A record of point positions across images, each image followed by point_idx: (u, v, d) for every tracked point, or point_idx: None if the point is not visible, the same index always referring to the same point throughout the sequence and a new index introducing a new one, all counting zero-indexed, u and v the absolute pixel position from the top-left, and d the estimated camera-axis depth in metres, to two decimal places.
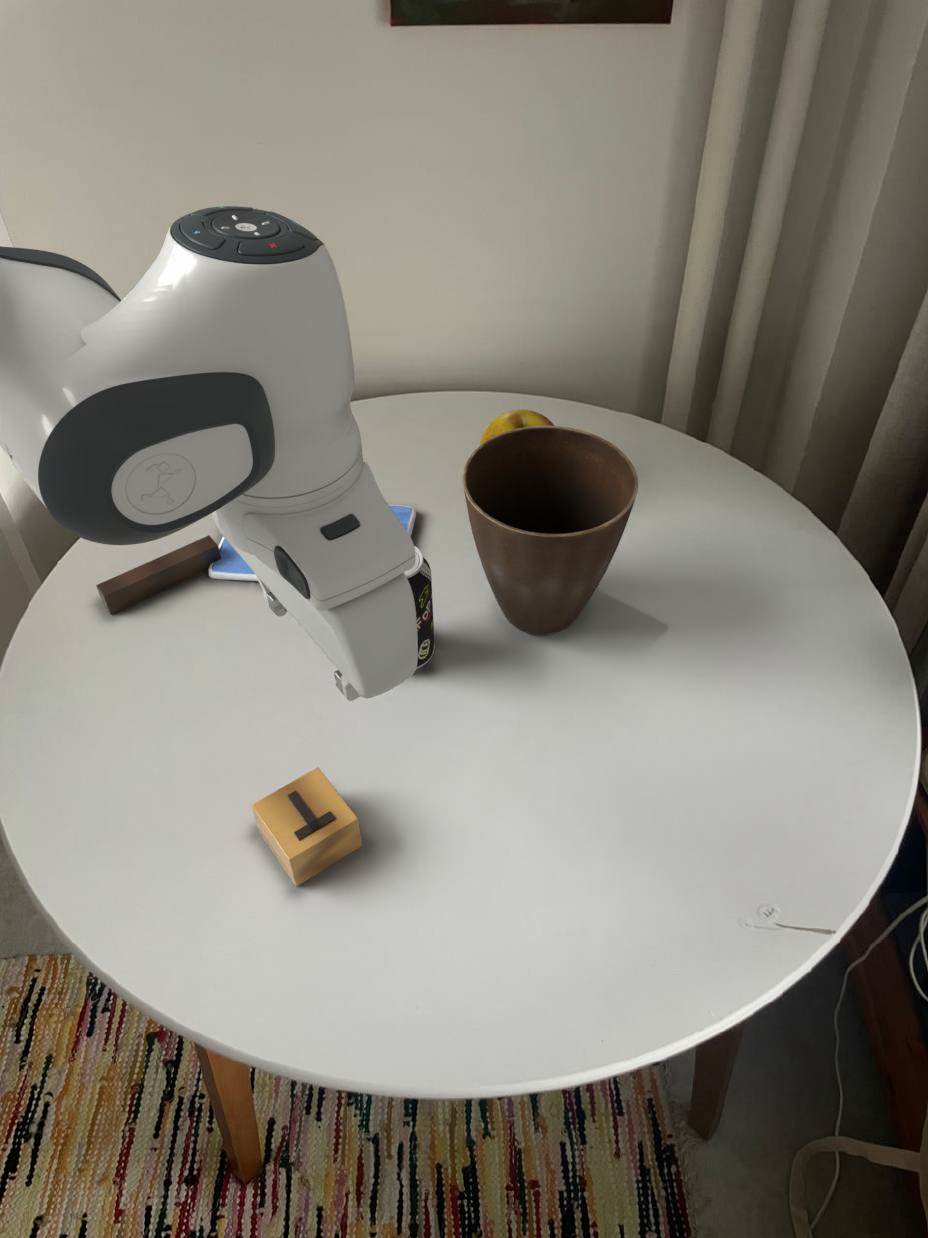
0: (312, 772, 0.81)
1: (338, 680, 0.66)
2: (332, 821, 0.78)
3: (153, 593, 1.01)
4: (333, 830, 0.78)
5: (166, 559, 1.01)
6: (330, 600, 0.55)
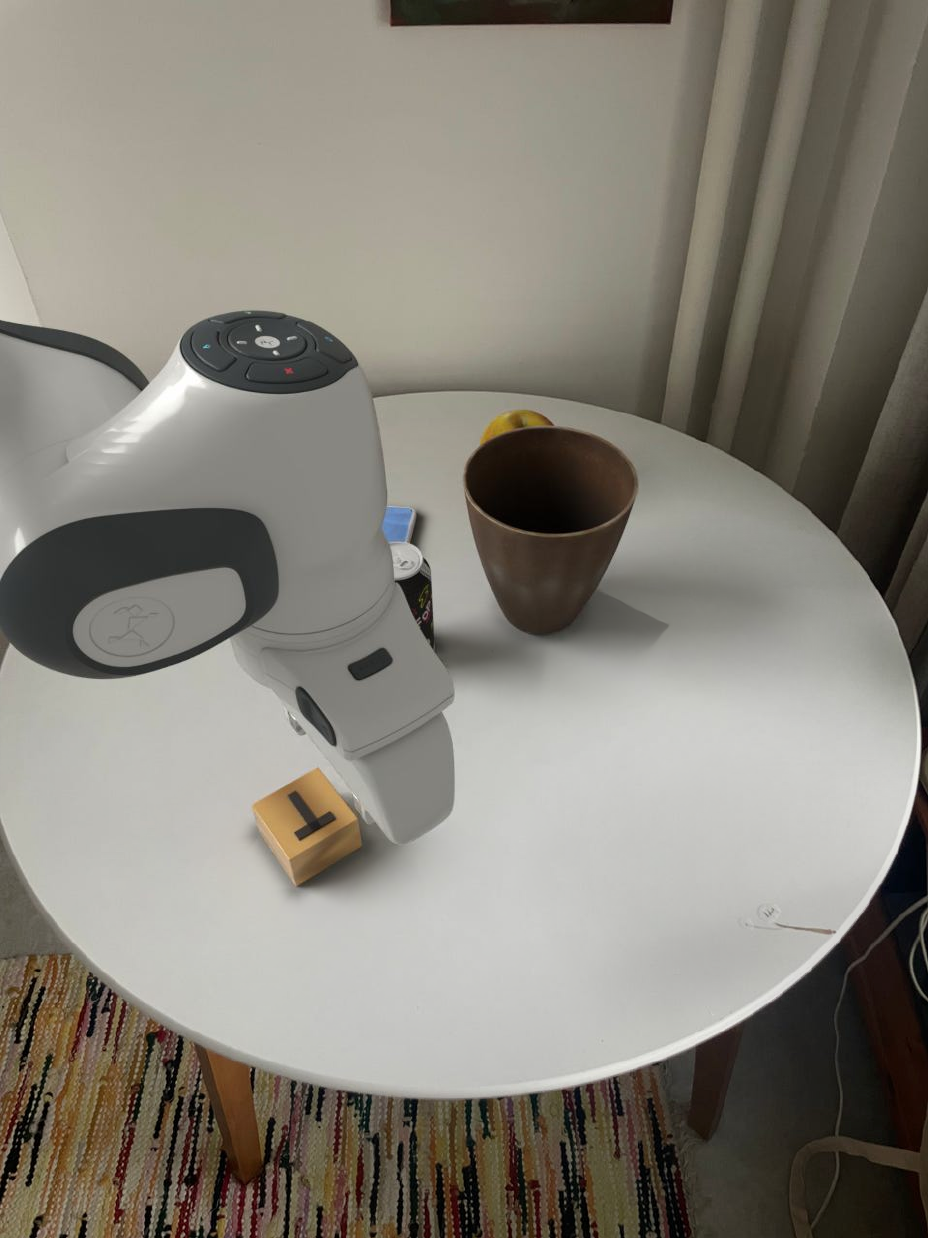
0: (312, 772, 0.81)
1: (357, 802, 0.60)
2: (332, 821, 0.78)
3: None
4: (333, 830, 0.78)
5: None
6: (359, 750, 0.48)
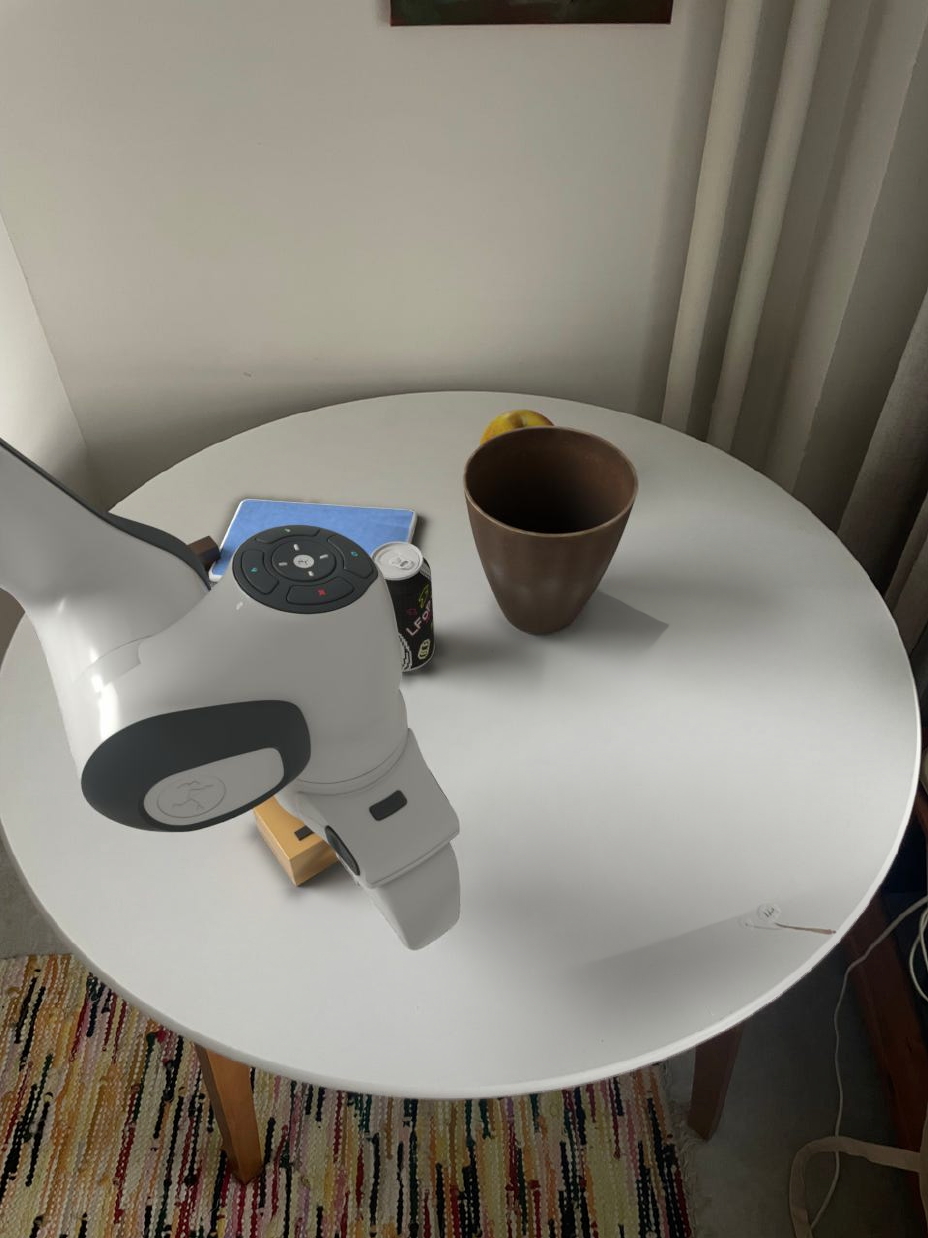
0: None
1: None
2: None
3: None
4: None
5: None
6: (379, 882, 0.57)
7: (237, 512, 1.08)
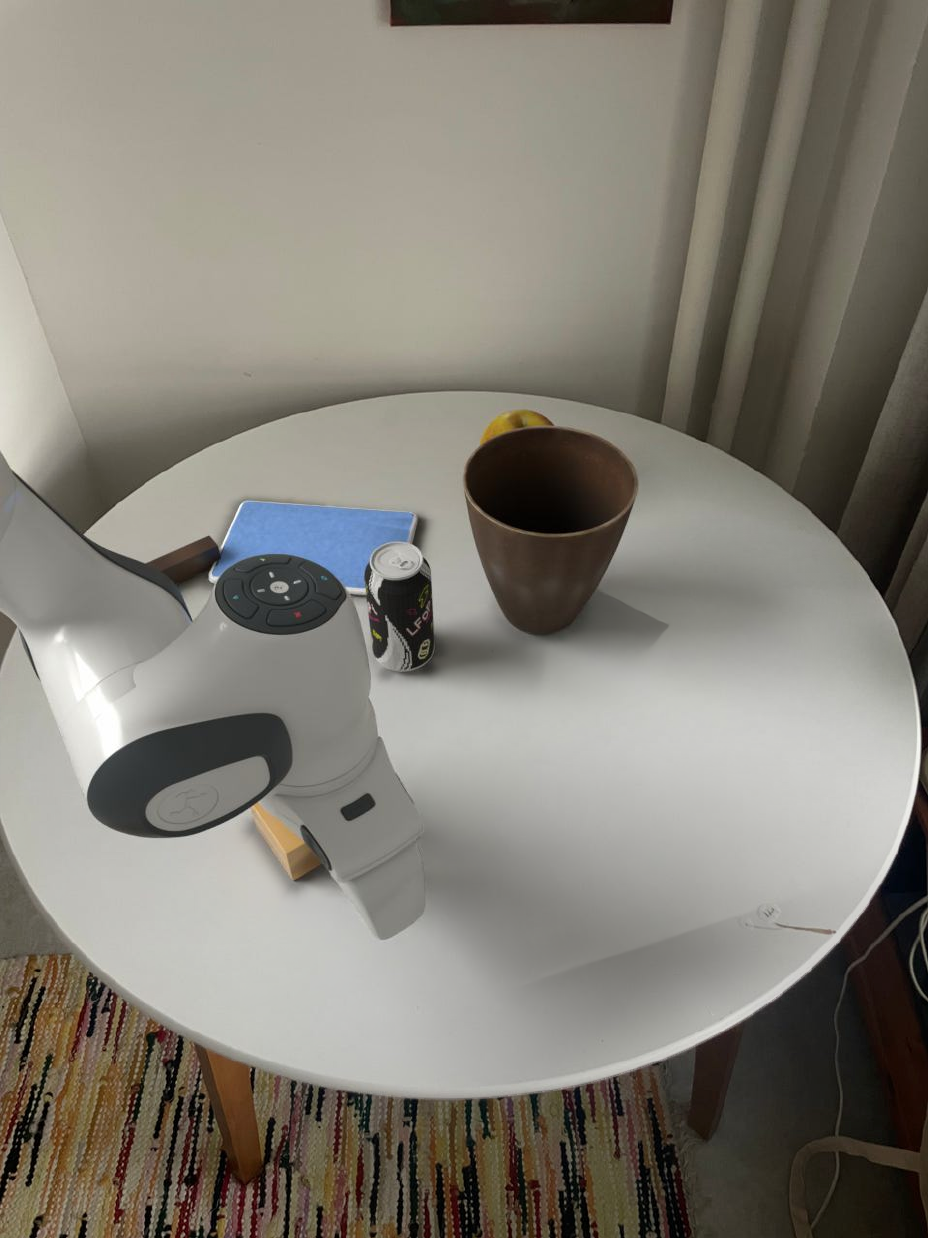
0: None
1: None
2: None
3: None
4: None
5: (166, 559, 1.01)
6: (349, 876, 0.63)
7: (237, 514, 1.08)
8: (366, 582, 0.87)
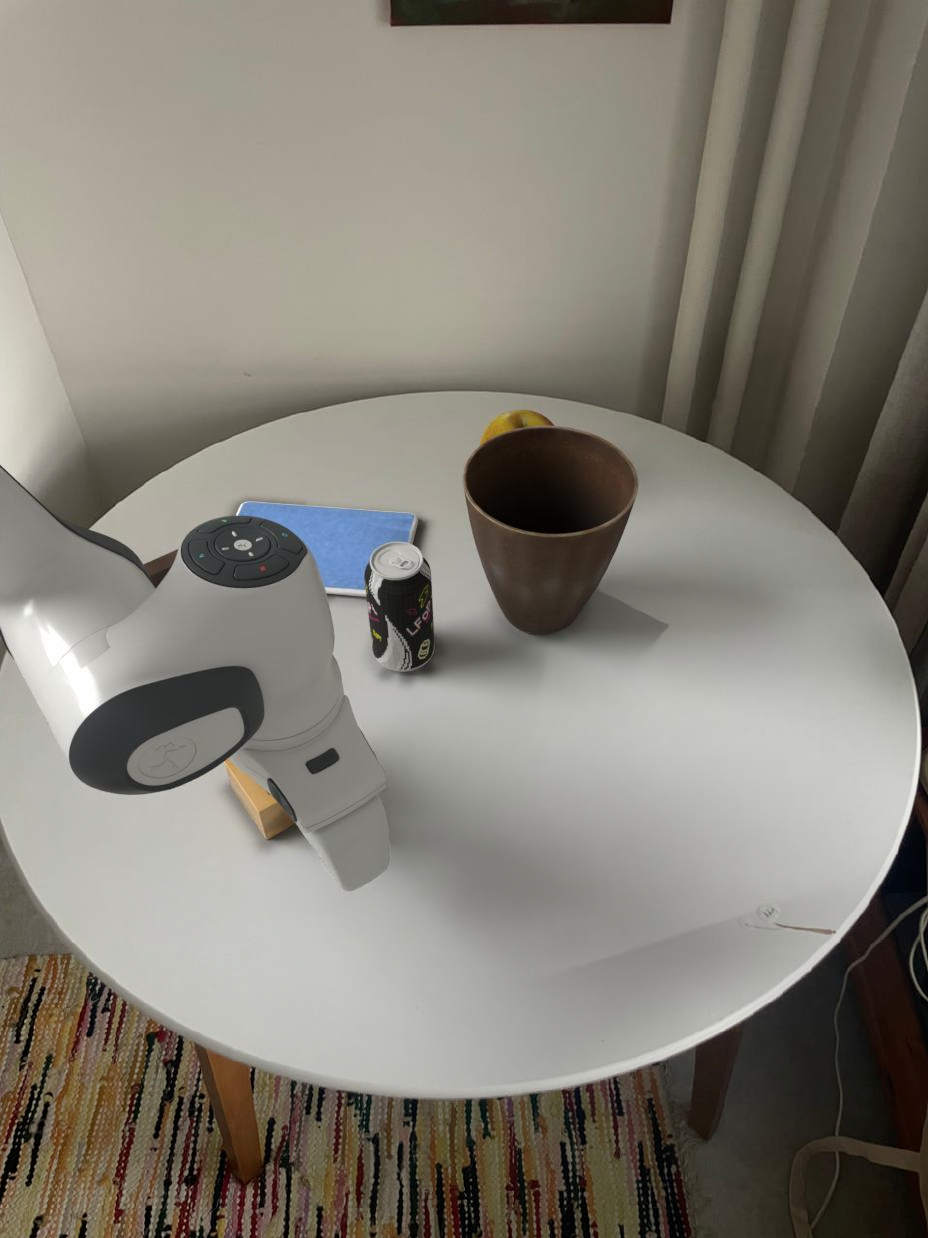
0: None
1: None
2: None
3: None
4: None
5: (166, 559, 1.01)
6: (313, 826, 0.65)
7: (237, 514, 1.08)
8: (366, 582, 0.87)
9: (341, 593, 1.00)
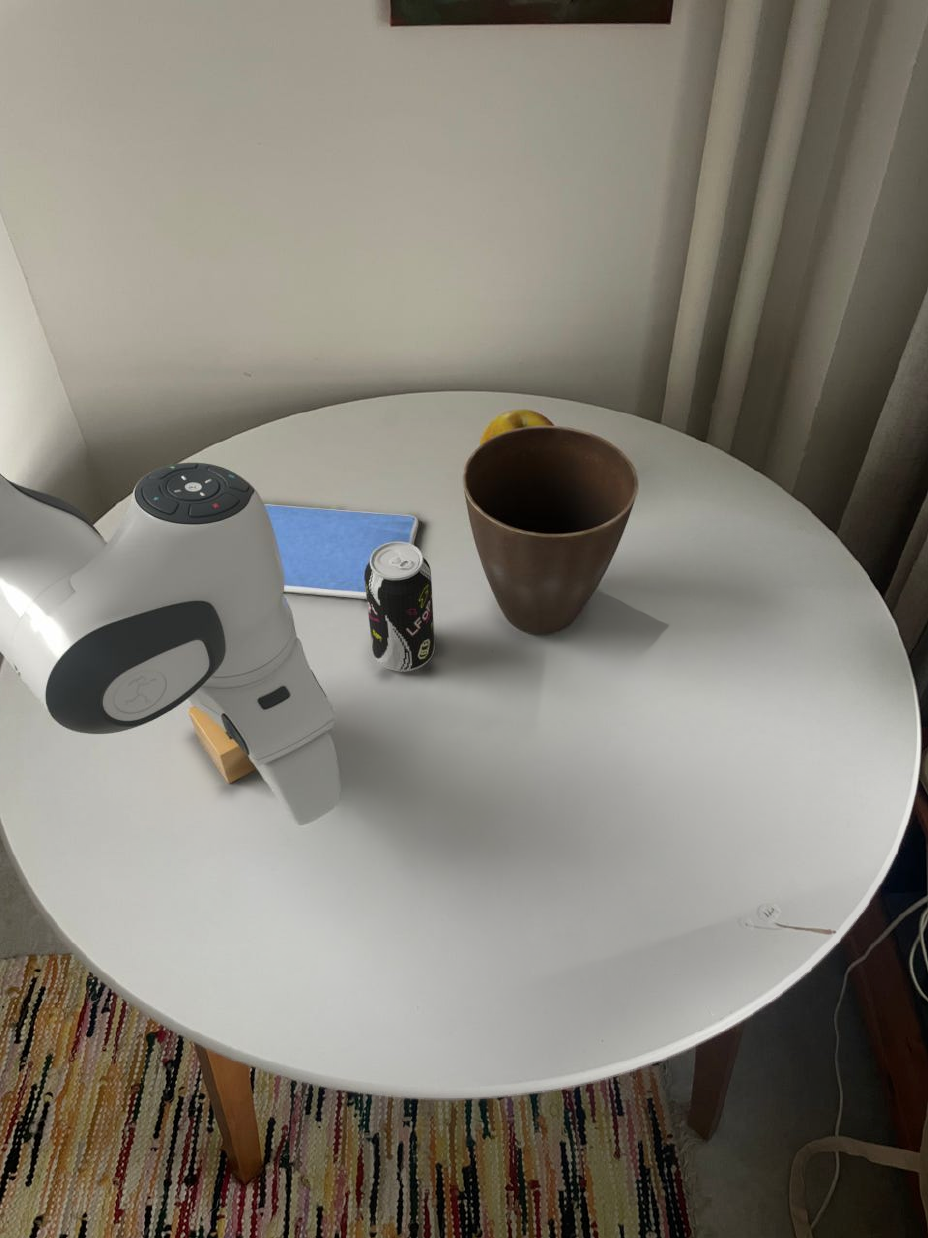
0: None
1: None
2: None
3: None
4: None
5: None
6: (264, 758, 0.69)
7: None
8: (366, 582, 0.87)
9: (341, 595, 1.00)
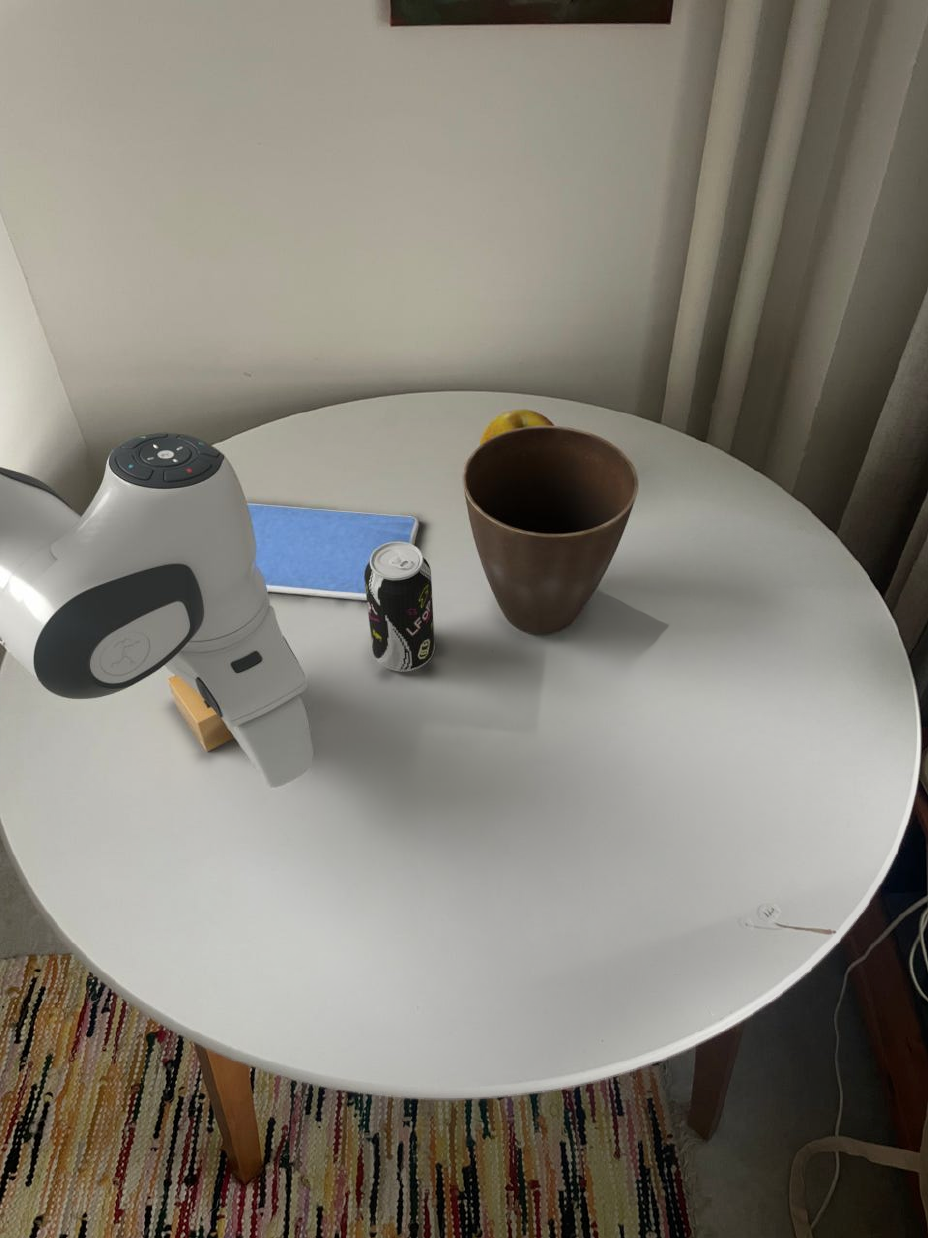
0: None
1: None
2: None
3: None
4: None
5: None
6: (237, 720, 0.71)
7: None
8: (366, 582, 0.87)
9: (341, 597, 1.00)
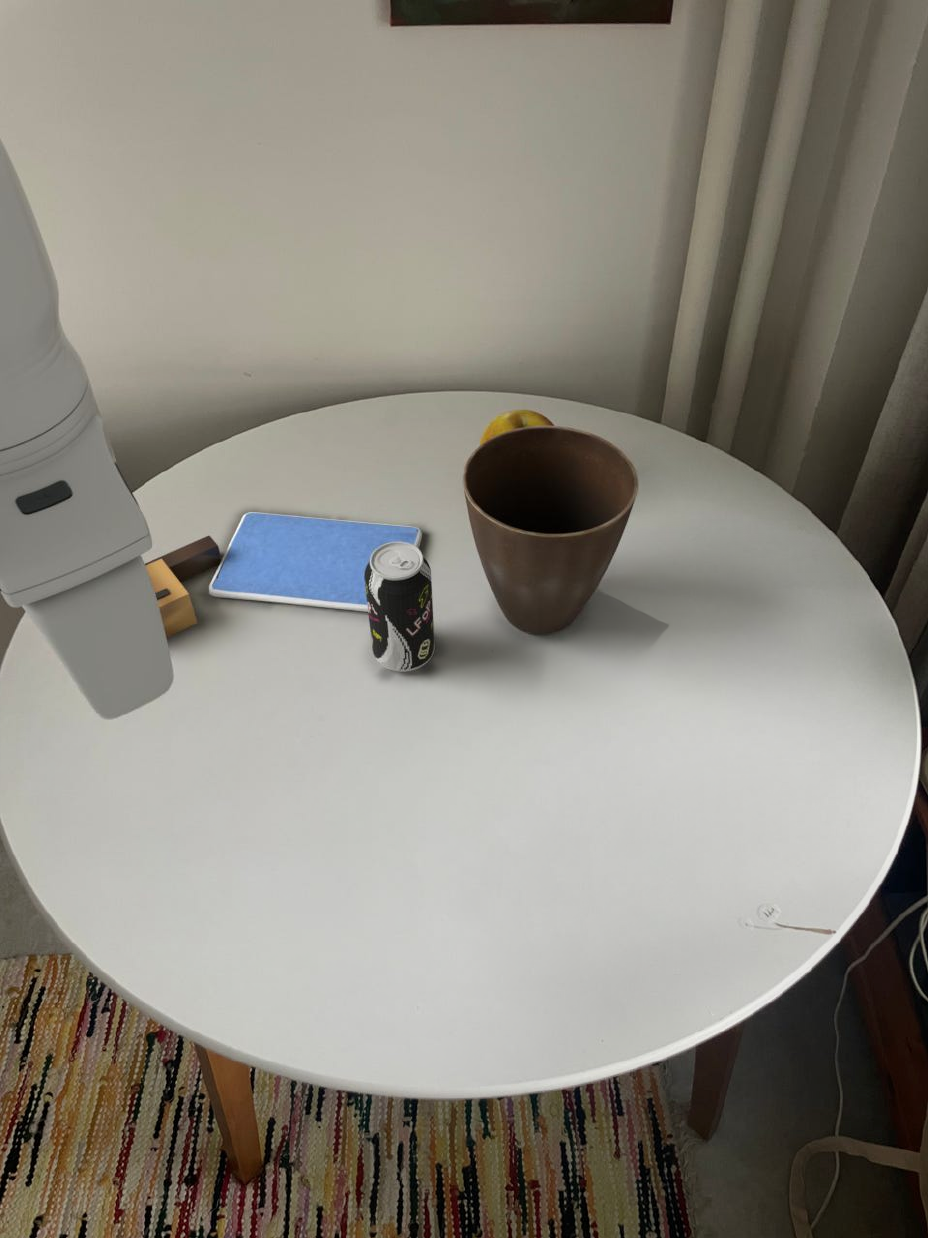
0: (156, 562, 0.98)
1: None
2: (168, 595, 0.95)
3: None
4: (167, 601, 0.95)
5: (166, 559, 1.01)
6: (22, 593, 0.41)
7: (240, 525, 1.07)
8: (366, 582, 0.87)
9: (342, 607, 0.98)
